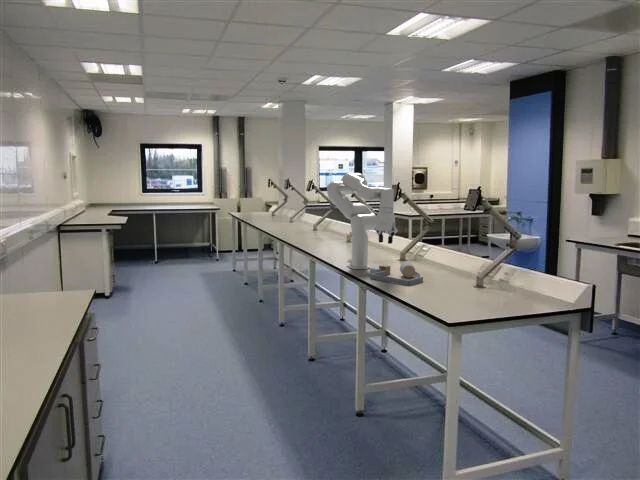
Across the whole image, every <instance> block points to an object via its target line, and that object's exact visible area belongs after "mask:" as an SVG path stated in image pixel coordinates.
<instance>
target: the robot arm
mask: <svg viewBox="0 0 640 480" xmlns="http://www.w3.org/2000/svg"><path fill="white" fill-rule="evenodd" d="M355 192H356V194H357V196H358V197H359V198H361V199H363V200H365V201H368V202H369V201H370V202H375V201H376V202H378V201H379V207H378V209H377V211H379V212H378V213H377V215H376V214H375V212H373V211H372V210H371V208H369V206H368V205H366V204H364V203H354V202H352V201H351V200H350V199H349V198H348V197H347V196H349V195H352V194H354V193H355ZM326 193H327V196H328V199H329V200H330V202H331V203H332V204H334V206H335V207H336V208H337V209H338V210H339V211H340V212H341V214H342V215H343V216H344V217H345V218H346V219H348V220H350V228H351V229H350V230H351V259H350V258H349V259H348V260H347V261H346V262H347V264H349V265H348V267H349V268H350V269H352V270H353V269H354V270H367V269H369V270H370V269H371V265H369V263H368V261H369V236H368V233H367V232H366V231H373V230H375V232H376V234H377V235H378V243H383V242H384V235H383V234H384V232H388V238H387V244H393V240H394V238H393V237H395V235H396V234H397V232H398V231H399V230H398V228H397V227H396V219H395V218H396V215H395V213H394V204H395V203H394V202H395V201H394V200H395V190H394V188H391V187H383V186H382V187H376V186H375V187H373V186H372V187H370V186H368V181H367V180H366V177H365V176H364V174H362V173H360V172H347V173H345V174H344V175H343V176H342V177H341V180H340V181H339V180H338V181H337V180H334V181H332V182H330V183H328V184H327V188H326Z"/></svg>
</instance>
